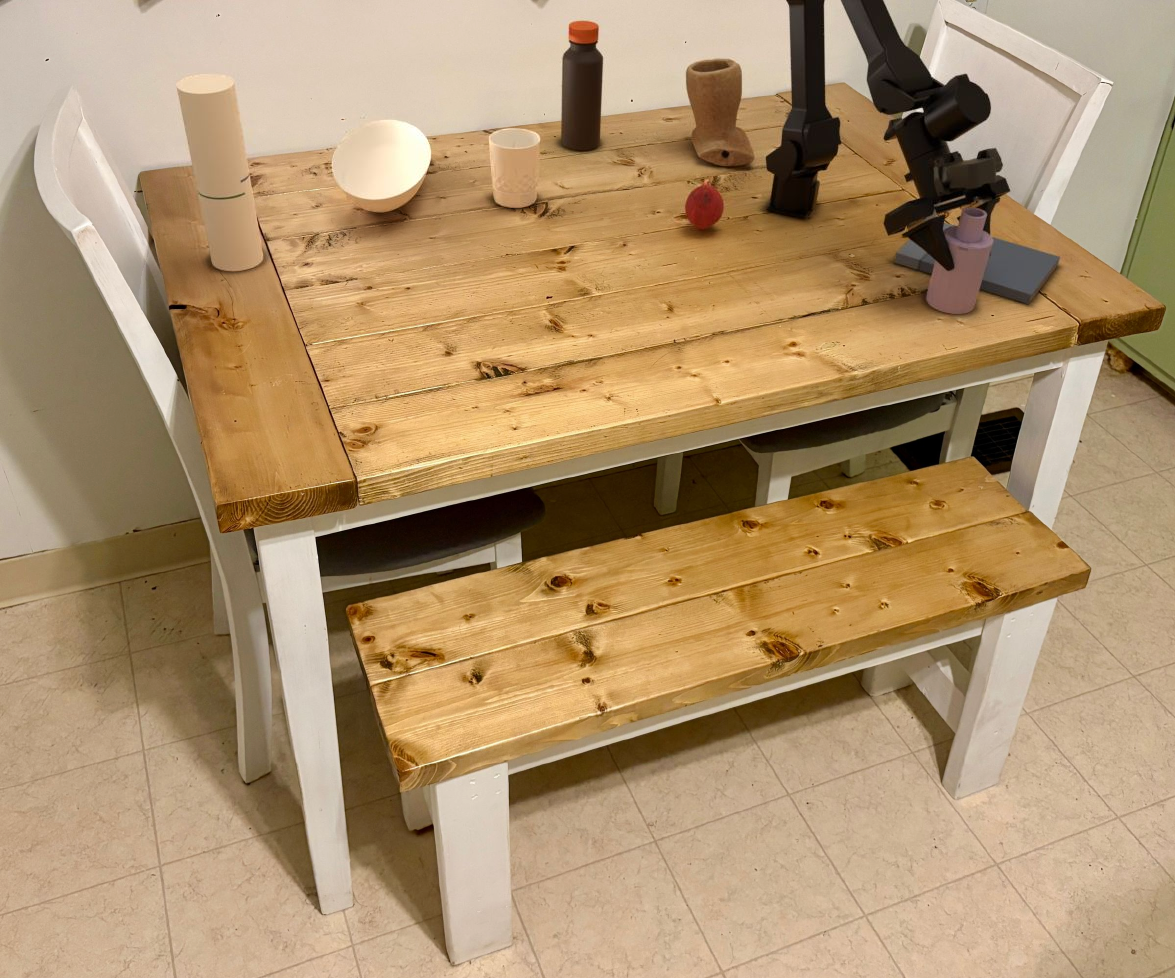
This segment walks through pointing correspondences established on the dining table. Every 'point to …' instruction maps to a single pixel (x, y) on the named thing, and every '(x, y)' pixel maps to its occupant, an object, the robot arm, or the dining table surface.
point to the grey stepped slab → (996, 268)
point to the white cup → (514, 166)
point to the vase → (962, 265)
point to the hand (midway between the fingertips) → (969, 263)
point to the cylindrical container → (221, 170)
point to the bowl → (381, 164)
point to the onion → (704, 206)
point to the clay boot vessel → (717, 112)
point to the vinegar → (581, 88)
